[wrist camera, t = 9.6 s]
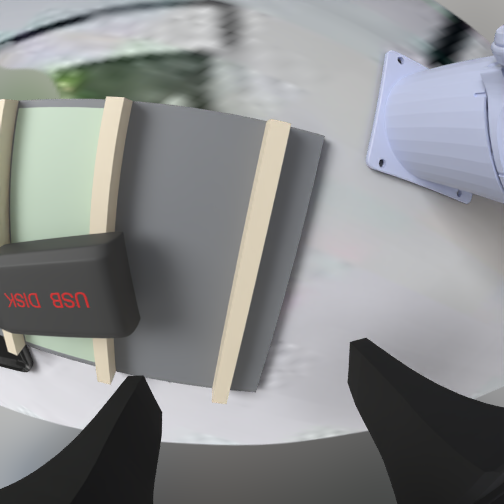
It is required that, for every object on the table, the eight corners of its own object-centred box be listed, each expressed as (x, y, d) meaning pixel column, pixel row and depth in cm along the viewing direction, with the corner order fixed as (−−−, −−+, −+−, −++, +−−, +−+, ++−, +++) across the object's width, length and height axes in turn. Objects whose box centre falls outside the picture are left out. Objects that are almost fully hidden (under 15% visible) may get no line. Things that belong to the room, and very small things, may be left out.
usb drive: (141, 318, 16) (130, 346, 14) (-2, 316, 16) (-22, 336, 13) (124, 230, 15) (105, 248, 12) (-24, 247, 14) (-48, 262, 11)
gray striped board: (320, 136, 16) (334, 135, 14) (254, 385, 22) (257, 406, 20) (-6, 103, 13) (-26, 103, 11) (2, 329, 18) (-11, 343, 16)
